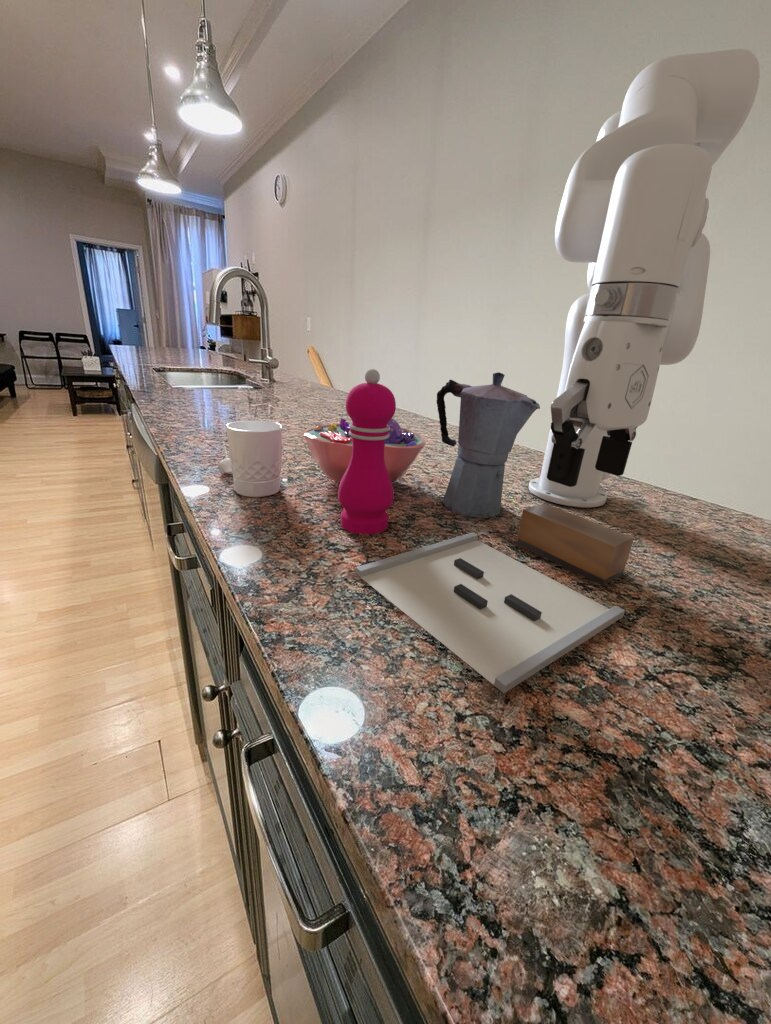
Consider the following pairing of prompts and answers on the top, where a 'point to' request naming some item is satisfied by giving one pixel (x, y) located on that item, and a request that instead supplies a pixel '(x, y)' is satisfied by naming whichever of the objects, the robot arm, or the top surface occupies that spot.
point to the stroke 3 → (522, 607)
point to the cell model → (336, 448)
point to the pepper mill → (367, 458)
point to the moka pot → (482, 443)
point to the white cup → (255, 456)
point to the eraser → (574, 543)
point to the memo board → (488, 607)
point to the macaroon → (225, 466)
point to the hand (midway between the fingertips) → (585, 477)
